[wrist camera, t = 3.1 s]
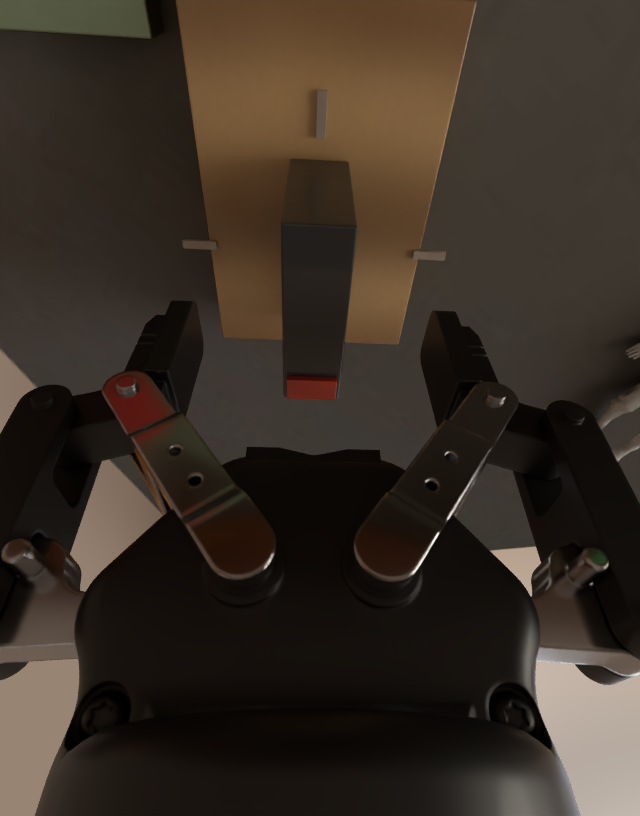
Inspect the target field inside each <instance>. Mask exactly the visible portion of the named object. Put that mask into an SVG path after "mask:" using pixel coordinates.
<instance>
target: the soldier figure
mask: <svg viewBox="0 0 640 816" xmlns="http://www.w3.org/2000/svg"><path fill="white" fill-rule="evenodd" d="M636 348H637V349H636ZM633 349H635V350H633ZM631 350H633V351H631ZM628 351H631V352H629V353H627V354H626V355H630V354H632V353H634V352H636V353H634V354H632V355H630V356H629V358H631V357H633V356H636V355H638V354H639V355H638V356H636V357H634V358H633V359H636V358H639V357H640V343H639V344H636V345H635V346H633V347H631V348H629V349H627V350H626V352H628ZM637 351H638V352H637ZM638 407H640V383H639V384H637V385H636V386H635V387H633V388H632V389H631V390H630V391H629V392H628V393H626V394H625V395H624V394H621V395H619V396H618V397H617V399H612V400H611V404H610V406H609V408H608V409H607V410H606V412H605V413H604V414H603V415H602V416H601V418H600V419H597V420H596V421H597V423H598V425H599V427H600V429H602V428H604V426H606V425H607V424H608V423H609V422H610V421H611V420H612V419H615V418H616V417H618V416H620V415H622V414H623V413H628V412H632V411H634V410H635V409H637V408H638ZM638 448H640V432H639V433H638V434H637V435H636V436H635V437H633V438H632V440H631V441H630V442H627V443H625V444H620V445H618V446H616V447H615V448H613V449H612V452H613V454H614V456H615V458H616V459H617V461H619V460H620V459H621V458H622V457H623V456H625V455H627V454H628V453H629V452H630V451H633V450H637V449H638Z"/></svg>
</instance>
